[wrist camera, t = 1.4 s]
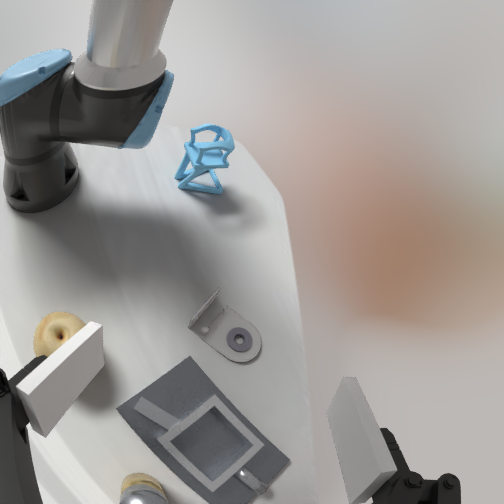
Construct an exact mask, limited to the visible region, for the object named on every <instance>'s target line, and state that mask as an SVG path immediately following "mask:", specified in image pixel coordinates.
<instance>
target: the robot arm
mask: <svg viewBox="0 0 504 504" xmlns="http://www.w3.org/2000/svg"><path fill="white" fill-rule="evenodd" d="M172 3H173V0H93V1H92V7H91V14H90V22H89V30H88V40H87V50H86V51H85V52H84V53H83V54H82V55H80V56H79V58H78V59H77V60H76V62H75V63H73V62H71V60H72V55H71V52H70V51H69V50H66V49H55V50H49V51H45V52H41V53H38V54H35V55H32V56H30V57H27V58H25V59H23V60H21V61H19V62H17V63H16V64H14V65H12V66H11V67H10V68H8V69H7V70H6V71H5V72H4V73H3V74H2V75H1V76H0V134H1V139H2V144H3V149H4V154H5V166H4V179H3V187H4V192H5V195H6V198H7V200H8V202H9V204H10V205H11V206H12V207H13V208H15V209H17V210H19V211H22V212H38V211H43V210H46V209H49V208H51V207H53V206H55V205H57V204H58V203H60V202H61V201H62V200H64V199H65V198H66V197H67V196H68V195H69V194H70V193H71V191H72V190H73V189H74V187H75V185H76V183H77V179H78V163H77V159H76V157H75V154H74V152H73V150H72V148H71V145H70V143H69V142H72V143H82V144H90V145H99V146H107V147H114V148H118V149H122V148H133V149H140V148H143V147H145V146H146V145H148V143H149V142H150V141H151V139H152V137H153V134H154V132H155V130H156V127H157V125H158V122H159V119H160V117H161V114H162V110H163V108H164V106H165V103H166V101H167V98H168V96H169V93H170V90H171V87H172V84H173V80H174V74H173V73H171V72H169V71H167V70H165V68H166V58H165V55H164V54H163V53H162V52H161V51H160V50H159V49H158V47H159V44H160V40H161V37H162V33H163V30H164V27H165V24H166V21H167V17H168V14H169V11H170V9H171V6H172ZM104 365H105V364H104V350H103V329H102V325H101V324H98V323H95V322H92V321H91V322H89V323H88V324H87V325H86V326H84V327H83V328H82V329H81V330H80V331H78V332H77V333H76V334H75V335H74V336H72V337H71V338H70V339H69V340H68V341H66V342H65V343H64V344H63V345H62V346H61V347H59V348H58V349H57V350H56V351H55V352H54V353H52V354H51V355H50V356H49V357H47V356H45V355H41V356H39V357H36V358H34V359H33V360H32V361H31V362H30V363H29V364H27V365H26V366H25V367H24V369H21V370H20V371H19V372H18V373H17V374H16V375H14V376H13V377H12V378H11V379H10V380H9V381H8V380H7V377H6V374H5V372H4V371H3V370H2V369H0V504H43V502H42V499H41V495H40V492H39V488H38V484H37V480H36V476H35V471H34V467H33V462H32V457H31V451H30V445H29V438H28V430H27V427H26V425H27V424H28V423H29V422H30V424H31V426H32V428H33V430H34V431H36V432H37V433H39V434H40V435H42V436H44V437H45V438H46V437H47V435H48V434H49V433H50V431H51V430H52V429H53V428H54V426H55V425H56V424H57V423H58V421H59V420H60V419H61V417H62V416H63V415H64V414H65V412H66V411H67V410H68V409H69V407H70V406H71V405H72V404H73V402H74V401H75V400H76V399H77V397H78V396H79V395H80V394H81V393H82V391H83V390H84V389H85V388H86V386H87V385H88V384H89V383H90V382H91V380H92V379H93V378H94V377H95V376H96V374H97V373H98V372H99V371H100V370H101V368H102V367H103V366H104ZM327 417H328V420H329V424H330V428H331V431H332V436H333V439H334V443H335V447H336V451H337V455H338V459H339V463H340V466H341V471H342V475H343V479H344V483H345V487H346V491H347V495H348V499H349V504H358V503H365V502H366V501H367V500H368V499H369V498H370V497H372V499H373V503H372V504H461V489H460V488H461V487H460V481H459V479H458V478H457V477H456V476H455V475H453V474H450V473H447V474H443V475H442V476H441V477H440V478H439V479H438V480H424V479H423V478H422V476H421V475H420V474H418V473H416V472H412V471H410V470H409V467H408V465H407V463H406V461H405V459H404V457H403V455H402V452H401V450H399V446H398V444H397V442H396V440H395V437H394V435H393V434H392V433H391V432H390V431H389V430H388V429H387V428H379V426H378V424H377V422H376V420H375V418H374V415H373V413H372V411H371V409H370V407H369V404H368V402H367V400H366V398H365V396H364V394H363V392H362V389H361V387H360V385H359V383H358V381H357V379H356V378H352V377H343V379H342V381H341V383H340V386H339V388H338V390H337V392H336V394H335V396H334V398H333V400H332V402H331V404H330V406H329V408H328V410H327Z"/></svg>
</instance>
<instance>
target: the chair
mask: <svg viewBox="0 0 504 504" xmlns="http://www.w3.org/2000/svg"><path fill="white" fill-rule="evenodd" d="M204 130H211V131H214V132H216V133H217V135H216V137H215V139H214V141H213V142H206V143H197V142H195V134H196V133H198V132H200V131H204ZM220 136H221V137H222V138H223V139H224V141H218V140H219V138H220ZM184 147H185V150H186V153H185V156H184V158H183V160H182V162H181V164H180V166H179V168H178V170H177V173H176V175H175V179H182V178H185V177H186V178H185V179H183V180H182V181H181V182H180V183H179V185H178V188H180V189H190V190H196V191H202V192H208V193H214V194H222V192H223V188H222V186H221V184H220V182H219V180H218V178H217V176H216V174H215V172H214V170H213V169H216V168H228V166H229V163H228V161H227V156H228V155H229V154H230V153H231V152H232V151H233V150H234V148H235V147H234V141H233V138H232V135H231V133H230V132H229V131H228V130H226V129H224V128H222V127H220V126H216V125H212V124H204V125H201V126H199V127H196V128H192V129H191V140H190V142H185V144H184ZM221 150H225V151H227V152H225V153H224V154H223V153H222V151H221ZM190 161H191V164H192V166H193V169H190V170H186V171H185V169H186V167H187V165H188V163H189V162H190ZM208 170H209V172H210V174H211V177H212V179H213V181H214V183H215V185H216V187H217V188H214V187H209V186H204V185H200V184H195V183H189V182H190V181H191V180H193V179H194V178H195V177H197V176H198V175H200V174H201V173H203V172H205V171H208Z"/></svg>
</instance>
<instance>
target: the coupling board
mask: <svg viewBox="0 0 504 504" xmlns="http://www.w3.org/2000/svg"><path fill="white" fill-rule="evenodd" d="M116 409H117V410H118V412H119V413H120V414H121V415H122V417H123V418H124V419H125V420H126V422H127V423H128V424H129V425H130V426H131V428H132V429H133V430H134V431H135V432H136V433H137V435H138V436H139V437H140V438H141V439H142V440H143V441H144V443H145V444H146V445H147V446H148V447H149V448H150V449H151V450H152V451H153V452H154V453H155V454H156V455H157V456H158V457H159V458H160V459H161V460H162V461H163V462H164V463H165V464H166V465H167V466H168V467H169V468H170V469H171V470H172V471H173V472H174V473H175V474H176V475H177V476H178V477H179V478H180V479H181V480H182V481H184V482H185V483H186V484H187V485H188V486H189V487H190V488H192V489H193V490H194V491H195V492H196V493H197V494H199V495H200V496H201V497H202V498H204V499H205V500H206V501H207V502H209V503H210V504H246V503H247V502H248V501H250V500H251V499H252V498H253V497H254V496H255V495H256V494H258V495H260V494H262V493H264V492H265V491H266V490H267V489H268V486H267V485H266V484H267V483H268V482H269V481H270V480H271V479H272V478H273V477H274V476H275V475H276V474H277V473H278V472H279V471H280V470H281V469H282V468H283V467H284V466H285V465H286V464H287V462H288V461H289V460H290V459H288V458H287V457H286V456H285V455H284V454H283V453H282V452H281V451H279V450H278V449H277V448H276V447H275V446H274V445H273V444H272V443H271V442H270V441H269V440H268V439H267V438H265V437H264V436H263V435H262V434H261V433H260V432H259V431H258V430H257V429H256V428H255V427H254V426H253V425H252V424H251V423H250V422H249V421H248V420H247V419H246V418H245V417H244V416H243V415H242V414H241V413H240V412H239V411H238V410H237V409H236V407H235V406H234V405H233V404H232V403H231V402H230V401H229V400H228V399H227V398H226V397H225V396H224V395H223V393H222V392H221V391H220V390H219V389H218V388H217V387H216V386H215V385H214V383H213V382H212V381H211V380H210V379H209V378H208V377H207V375H206V374H205V373H204V372H203V371H202V370H201V368H200V367H199V366H198V365H197V364H196V362H195V361H194V360H193V359H192V358H191V356H189V357H188V358H186V359H185V360H184V361H182V362H181V363H180V364H178V365H177V366H176V367H174V368H173V369H171V370H170V371H169V372H167V373H166V374H165V375H163V376H162V377H160V378H159V379H158V380H156V381H155V382H153V383H152V384H151V385H149V386H148V387H146V388H145V389H144V390H142V391H141V392H139V393H138V394H136V395H135V396H134V397H132V398H131V399H129V400H128V401H126V402H125V403H123V404H122V405H121V406H119V407H118V408H116Z"/></svg>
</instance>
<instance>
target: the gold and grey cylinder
mask: <svg viewBox="0 0 504 504" xmlns="http://www.w3.org/2000/svg"><path fill="white" fill-rule="evenodd" d="M120 504H169V503H168V501H167V498H166V496H165V494H164V492H163V489H162V487H161V485H160V483H159V482H158V481H157V480H156V479H155V478H153V477H152V476H150V475H147V474H144V473H134V474H131V475H129V476H127V477H126V478H125V479H124V481H123V483H122V489H121V496H120Z"/></svg>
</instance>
